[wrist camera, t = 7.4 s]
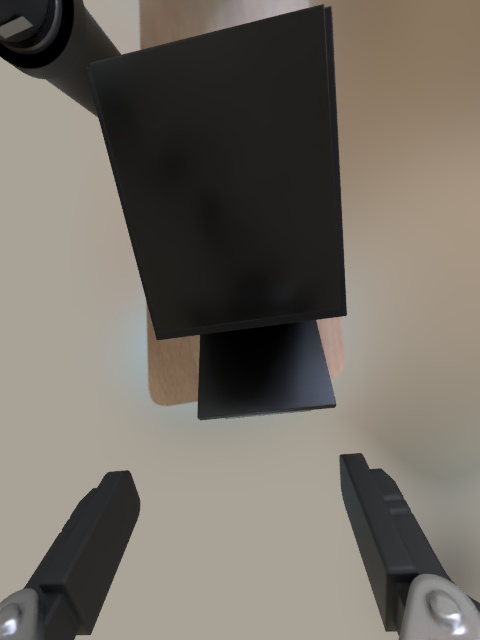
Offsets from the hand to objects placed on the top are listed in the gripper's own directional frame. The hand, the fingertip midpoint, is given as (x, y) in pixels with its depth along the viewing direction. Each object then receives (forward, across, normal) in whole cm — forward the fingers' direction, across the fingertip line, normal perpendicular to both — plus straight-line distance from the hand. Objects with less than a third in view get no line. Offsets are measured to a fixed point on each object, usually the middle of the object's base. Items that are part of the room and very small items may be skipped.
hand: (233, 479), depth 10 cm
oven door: (+25, -1, 0) cm, 25 cm away
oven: (+27, -1, -10) cm, 29 cm away
